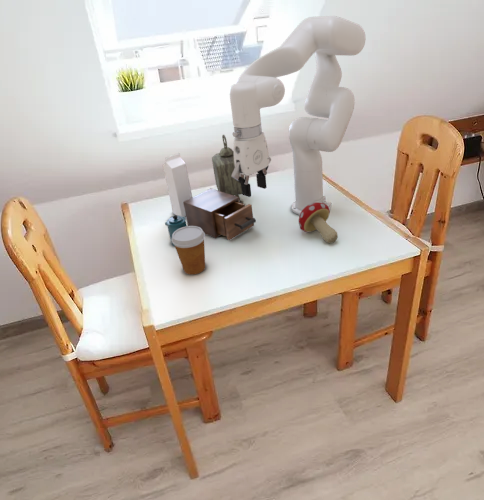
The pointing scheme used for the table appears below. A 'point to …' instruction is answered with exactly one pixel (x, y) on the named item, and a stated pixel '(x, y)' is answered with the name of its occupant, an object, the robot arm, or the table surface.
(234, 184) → the green bell
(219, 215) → the drawer
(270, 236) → the table surface
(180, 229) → the disposable coffee cup
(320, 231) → the decorative mushroom
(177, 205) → the milk
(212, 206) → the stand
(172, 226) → the kettle
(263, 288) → the table surface
